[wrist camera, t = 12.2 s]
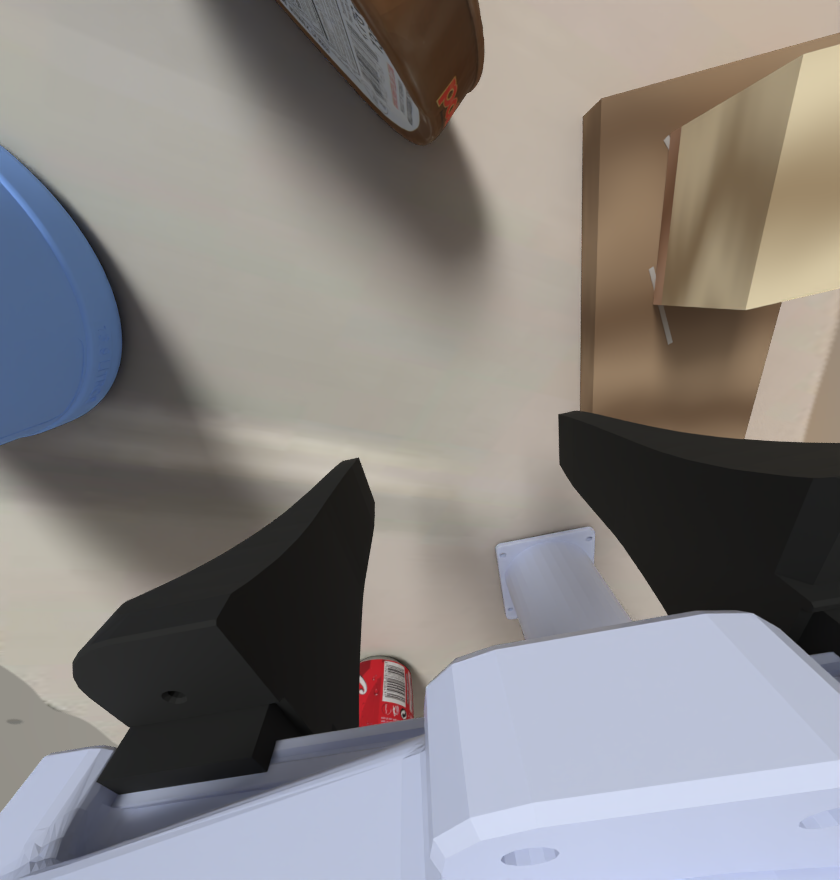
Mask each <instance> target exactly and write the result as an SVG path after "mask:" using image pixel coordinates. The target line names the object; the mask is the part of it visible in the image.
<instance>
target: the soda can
mask: <svg viewBox="0 0 840 880" xmlns="http://www.w3.org/2000/svg"><path fill="white" fill-rule="evenodd" d="M407 719H413V690H412V680H411V673H410V671H409V670H408V669H407V668H406V667H405V666H404V665H402V664H401V663H400V662H398V661H397V660H395V659H393V658H390V657H386V656H374V657H370V658H367V659H364V660H363V661H361V662H360V682H359V727H363V726H370V725H376V724H382V723H388V722H395V721H401V720H407Z"/></svg>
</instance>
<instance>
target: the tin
mask: <svg viewBox="0 0 840 880" xmlns="http://www.w3.org/2000/svg"><path fill="white" fill-rule="evenodd" d="M276 2H277V3H278V4H279V5H280V6H281V7H282V9H283V10H284V11H285V12H286V13H287V14H288V15H289V17H290V18H291V19H292V20H293V21H294V22H295V23H296V25H297V26H298V27H299V28H300V29H301V30H302V31H303V32H304V34H305V35H306V36H307V37H308V38H309V39H310V40H311V41H312V43H313V44H314V45H315V46H316V47H317V48H318V49H319V50H320V52H321V53H322V54H323V55H324V56H325V57H326V58H327V59H328V61H329V62H330V63H331V64H332V65H333V66H334V67H335V68H336V69H337V71H338V72H339V73H340V74H341V75H342V76H343V77H344V78H345V79H346V80H347V82H348V83H349V84H350V85H351V86H352V87H353V88H354V89H355V91H356V92H357V93H358V94H359V95H360V96H361V97H362V98H363V99H364V100H365V101H366V102H367V104H368V105H369V106H370V107H371V108H372V109H373V110H374V111H375V112H376V113H377V114H378V115H379V116H380V117H381V118H382V119H383V120H384V121H385V122H386V123H388V124H389V125H390V126H391V127H392V128H393V129H394V130H395V131H396V132H398V133H399V134H400V135H401V136H403V137H404V138H406V139H407V140H409V141H410V142H413V143H415V144H417V145H422V146H423V145H427V144H429V143H431V142H432V141H433V140H435V139H436V138H437V137H438V135H439V134H440V133H441V132H442V130H443V129H444V128H445V126H446V124H447V123H448V121H449V120H450V118H451V117H452V115H453V114H454V112H455V111H456V109H457V108H458V106H459V105H460V103H461V102H462V100H463V99H464V97H465V96H466V94H467V93H469V92H471V91H472V90H473V89H474V88H475V87H476V85H477V84H478V82H479V80H480V77H481V74H482V71H483V63H484V37H483V26H482V21H481V16H480V8H479V3H478V0H276Z"/></svg>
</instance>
